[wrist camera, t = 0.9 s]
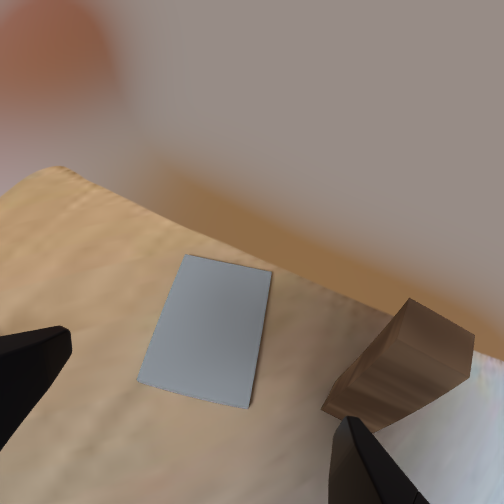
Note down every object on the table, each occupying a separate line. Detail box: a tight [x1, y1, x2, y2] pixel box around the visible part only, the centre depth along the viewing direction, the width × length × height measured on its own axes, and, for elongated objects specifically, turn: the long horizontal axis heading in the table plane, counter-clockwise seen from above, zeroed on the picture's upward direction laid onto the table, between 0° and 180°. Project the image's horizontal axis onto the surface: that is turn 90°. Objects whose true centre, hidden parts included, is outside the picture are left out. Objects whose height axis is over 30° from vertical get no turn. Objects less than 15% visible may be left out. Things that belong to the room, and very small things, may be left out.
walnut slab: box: [321, 298, 475, 433], centre depth 18 cm, size 3×5×12 cm, turn 58°
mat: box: [137, 254, 272, 409], centre depth 27 cm, size 14×9×1 cm, turn 171°
